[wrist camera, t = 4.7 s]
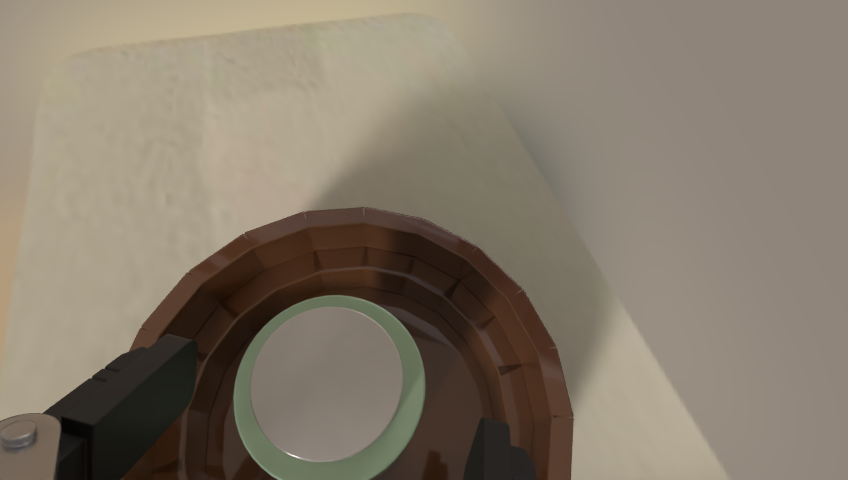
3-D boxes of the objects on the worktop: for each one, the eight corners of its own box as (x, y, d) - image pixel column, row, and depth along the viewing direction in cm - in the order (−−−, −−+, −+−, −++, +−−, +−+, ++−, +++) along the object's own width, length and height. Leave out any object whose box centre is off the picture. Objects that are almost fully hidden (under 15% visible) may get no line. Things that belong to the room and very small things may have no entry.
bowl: (496, 244, 25) (519, 194, 21) (573, 612, 18) (633, 656, 14) (181, 272, 23) (132, 223, 19) (141, 690, 17) (49, 770, 12)
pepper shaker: (404, 357, 22) (416, 275, 13) (417, 475, 20) (441, 476, 11) (295, 370, 21) (227, 292, 12) (296, 492, 19) (216, 508, 10)
